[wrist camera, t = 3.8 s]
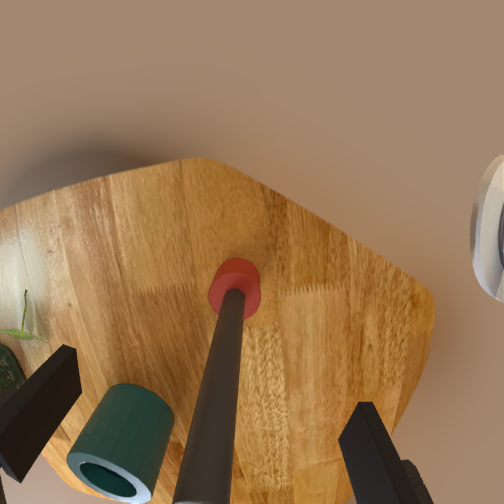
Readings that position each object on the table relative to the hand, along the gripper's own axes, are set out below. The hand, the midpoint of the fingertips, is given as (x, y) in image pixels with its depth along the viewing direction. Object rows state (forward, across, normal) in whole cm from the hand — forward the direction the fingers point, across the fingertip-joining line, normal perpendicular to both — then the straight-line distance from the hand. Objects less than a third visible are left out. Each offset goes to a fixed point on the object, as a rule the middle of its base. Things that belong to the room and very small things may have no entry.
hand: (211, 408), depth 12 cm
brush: (+18, 0, 0) cm, 19 cm away
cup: (+19, -10, -22) cm, 30 cm away
